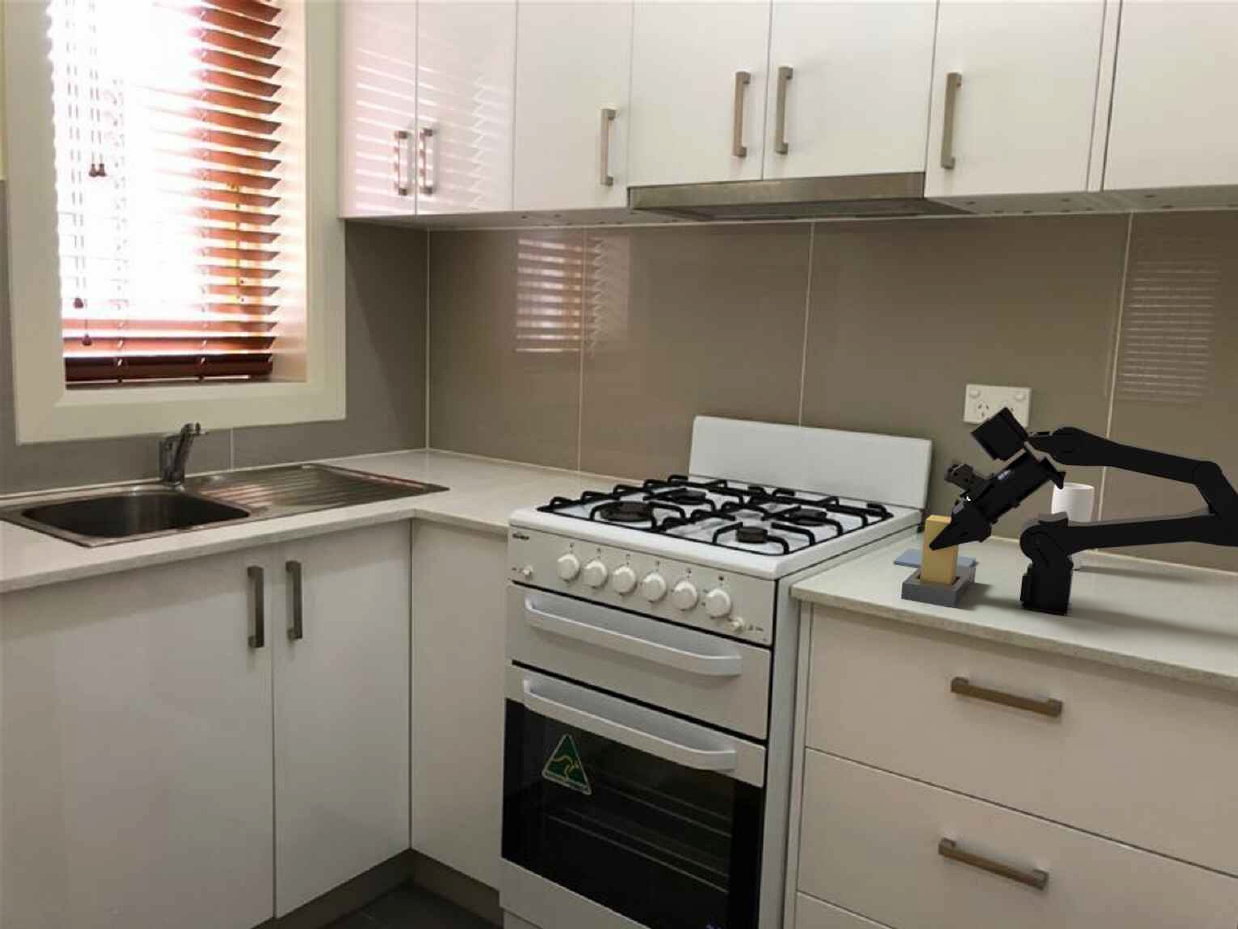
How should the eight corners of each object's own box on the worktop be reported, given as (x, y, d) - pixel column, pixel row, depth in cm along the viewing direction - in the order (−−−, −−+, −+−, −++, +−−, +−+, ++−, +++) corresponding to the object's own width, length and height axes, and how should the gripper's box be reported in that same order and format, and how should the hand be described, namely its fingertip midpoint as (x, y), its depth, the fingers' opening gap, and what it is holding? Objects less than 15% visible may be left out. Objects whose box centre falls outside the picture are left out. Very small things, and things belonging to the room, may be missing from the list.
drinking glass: (1043, 567, 179) (1052, 485, 177) (1046, 560, 185) (1055, 480, 182) (1084, 573, 176) (1094, 490, 173) (1086, 565, 182) (1096, 485, 179)
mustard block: (954, 585, 159) (961, 518, 157) (949, 592, 155) (955, 523, 153) (925, 580, 161) (931, 514, 159) (919, 587, 157) (925, 519, 155)
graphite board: (974, 582, 166) (976, 567, 166) (954, 607, 150) (955, 591, 150) (925, 574, 170) (927, 560, 169) (901, 598, 154) (902, 582, 154)
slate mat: (975, 561, 181) (975, 558, 181) (963, 575, 171) (963, 571, 170) (908, 551, 187) (909, 548, 187) (893, 563, 176) (893, 560, 176)
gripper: (980, 438, 162) (904, 496, 167) (975, 450, 145) (891, 515, 150) (1027, 490, 160) (948, 548, 166) (1027, 509, 143) (940, 573, 149)
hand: (931, 544), depth 158 cm, fingers closed on mustard block, 5 cm apart
